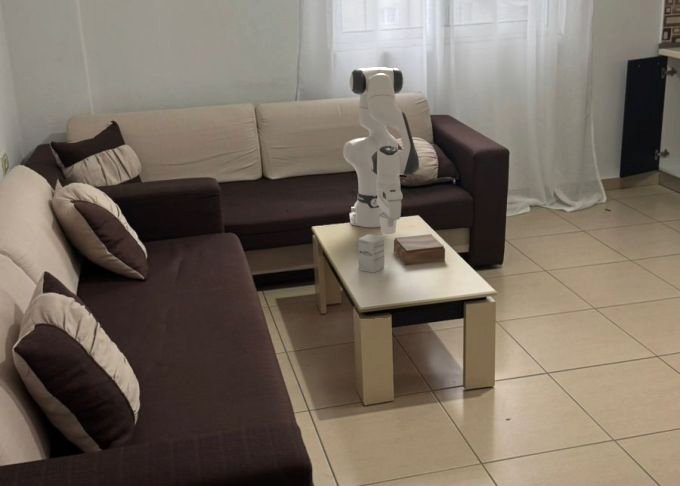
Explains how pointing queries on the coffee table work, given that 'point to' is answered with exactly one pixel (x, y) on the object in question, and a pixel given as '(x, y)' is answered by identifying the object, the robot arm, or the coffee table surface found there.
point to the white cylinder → (386, 225)
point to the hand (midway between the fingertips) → (388, 223)
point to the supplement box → (371, 253)
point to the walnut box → (419, 249)
